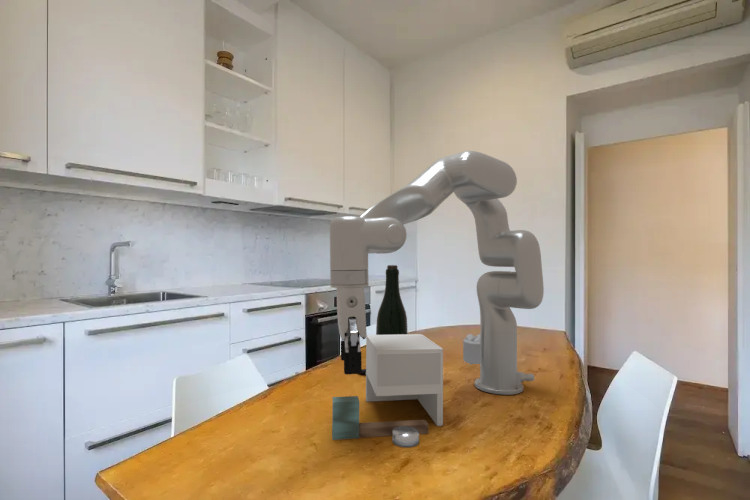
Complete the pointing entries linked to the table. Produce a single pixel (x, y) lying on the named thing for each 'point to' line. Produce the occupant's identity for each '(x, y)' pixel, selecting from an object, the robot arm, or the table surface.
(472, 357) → the lumpy-topped squat cylinder
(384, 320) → the dark green wine bottle
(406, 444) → the silver metal dome
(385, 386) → the cabinet
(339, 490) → the table surface
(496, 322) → the robot arm
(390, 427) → the mallet
